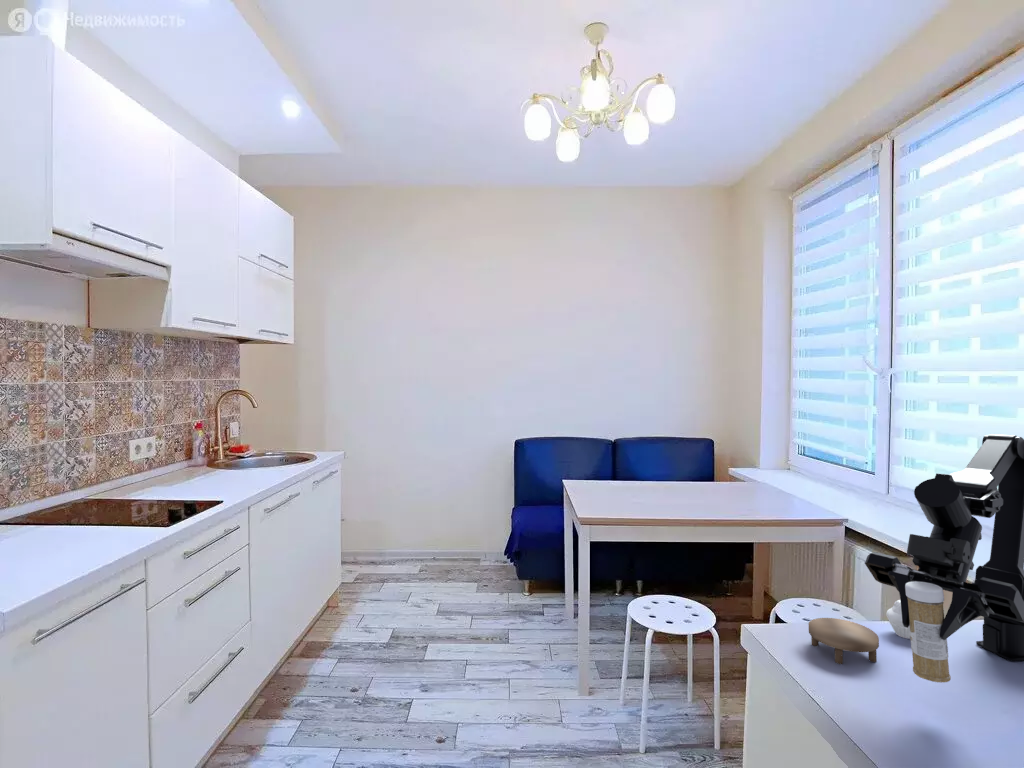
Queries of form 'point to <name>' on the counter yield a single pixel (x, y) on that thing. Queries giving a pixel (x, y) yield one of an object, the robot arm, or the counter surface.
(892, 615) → the muffin
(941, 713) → the counter surface
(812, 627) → the walnut footstool
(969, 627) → the counter surface
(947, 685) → the counter surface
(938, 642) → the sprinkles bottle
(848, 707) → the counter surface
